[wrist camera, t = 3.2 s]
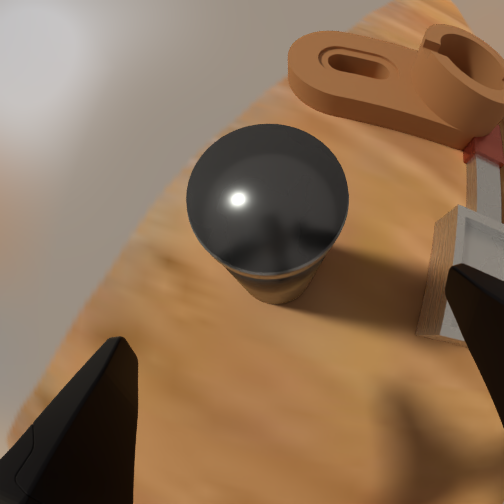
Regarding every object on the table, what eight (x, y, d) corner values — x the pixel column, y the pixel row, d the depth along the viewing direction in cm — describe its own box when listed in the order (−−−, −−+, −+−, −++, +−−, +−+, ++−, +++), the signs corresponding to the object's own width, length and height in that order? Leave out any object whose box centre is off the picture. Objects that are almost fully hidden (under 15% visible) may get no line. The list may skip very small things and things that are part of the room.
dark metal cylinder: (326, 282, 18) (381, 221, 8) (260, 318, 18) (228, 305, 8) (290, 219, 20) (295, 102, 9) (226, 253, 19) (162, 166, 9)
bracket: (474, 94, 21) (503, 49, 15) (488, 164, 20) (531, 120, 13) (295, 47, 24) (295, -13, 17) (280, 110, 22) (277, 42, 15)
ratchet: (415, 334, 17) (439, 334, 14) (438, 114, 20) (453, 89, 17) (498, 354, 16) (527, 355, 12) (507, 147, 19) (526, 128, 16)
